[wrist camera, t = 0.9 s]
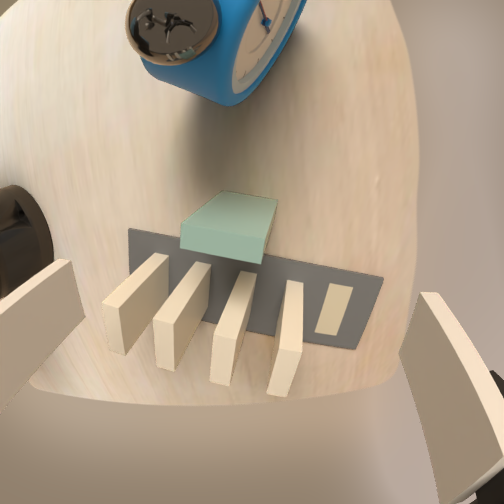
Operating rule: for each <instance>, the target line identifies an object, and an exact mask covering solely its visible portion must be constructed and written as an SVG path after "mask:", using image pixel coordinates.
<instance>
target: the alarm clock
mask: <svg viewBox="0 0 504 504" xmlns="http://www.w3.org/2000/svg"><path fill="white" fill-rule="evenodd" d="M306 1H307V0H132V2H131V4H130V6H129V8H128V10H127V14H126V19H125V31H126V35H127V38H128V41H129V43H130V45H131V46H132V48H133V49H134V50H135V51H136V52H137V53H138V54H139V55H140V57H141V60H142V62H143V64H144V67H145V68H146V70H147V71H148V72H149V73H150V74H151V75H152V76H153V77H155V78H156V79H158V80H161V81H164V82H166V83H169V84H172V85H174V86H177V87H179V88H182V89H185V90H187V91H190V92H192V93H195V94H197V95H199V96H202V97H204V98H207V99H209V100H211V101H214V102H216V103H218V104H220V105H223V106H234V105H237V104H238V103H240V102H242V101H243V100H245V99H246V98H247V97H248V96H249V95H250V94H251V93H252V92H253V91H254V90H255V89H256V87H257V86H258V85H259V84H260V83H261V81H262V80H263V79H264V77H265V76H266V74H267V73H268V72H269V70H270V69H271V67H272V66H273V64H274V62H275V61H276V59H277V58H278V56H279V54H280V53H281V51H282V49H283V48H284V46H285V44H286V42H287V41H288V39H289V37H290V35H291V33H292V31H293V29H294V28H295V25H296V23H297V21H298V19H299V17H300V15H301V13H302V11H303V8H304V6H305V4H306Z"/></svg>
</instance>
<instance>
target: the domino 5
mask: <svg viewBox="0 0 504 504" xmlns="http://www.w3.org/2000/svg"><path fill="white" fill-rule="evenodd" d="M302 342H303V283H301V282H296V281H291V280H287V282H286V286H285V291H284V295H283V299H282V304H281V308H280V312H279V316H278V321H277V327H276V334H275V340H274V347H273V354H272V360H271V367H270V373H269V379H268V385H267V391H266V394H269V395H275V396H281V397H287V394H288V391H289V389H290V386H291V383H292V380H293V378H294V375H295V372H296V369H297V366H298V363H299V360H300V357H301V354H302Z"/></svg>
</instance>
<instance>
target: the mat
mask: <svg viewBox="0 0 504 504" xmlns="http://www.w3.org/2000/svg"><path fill="white" fill-rule="evenodd" d="M128 241H129V270H130V275H131V274H132V273H133V272H134V271H135V270H136V269H137V268H139V267H140V266H141V265H142V264H143V263H144V262H145V261H146V260H147V259H148V258H149V257H151V256H152V255H153V254H154V253H159V254H164V255H169V286H168V297H169V296H170V295H171V293H172V292H173V291H174V289H175V288H176V287H177V286H178V284H179V283H180V282H181V280H182V279H183V278H184V276H185V275H186V274H187V272H188V271H189V270H190V268H191V267H192V266H193V265H194V263H195V262H196V261H197V262H202V263H206V264H211V276H210V287H209V299H208V307H207V309H206V311H205V313H204V315H203V317H202V319H201V320H202V321H206V322H210V323H215V324H218V322H219V320H220V318H221V315H222V313H223V311H224V308H225V306H226V304H227V301H228V299H229V297H230V294H231V292H232V290H233V287H234V285H235V283H236V280H237V278H238V276H239V273H240V271H245V272H250V273H255V274H257V277H256V283H255V289H254V294H253V300H252V306H251V312H250V317H249V320H248V324H247V327H246V331H251V332H256V333H261V334H266V335H271V336H275V334H276V327H277V321H278V316H279V312H280V308H281V304H282V299H283V295H284V291H285V286H286V282H287V280H291V281H296V282H301V283H303V341H304V342H310V343H316V344H322V345H328V346H335V347H342V348H349V349H356V347H357V345H358V343H359V341H360V338H361V336H362V334H363V331H364V329H365V327H366V324H367V322H368V319H369V317H370V314H371V312H372V309H373V307H374V304H375V302H376V299H377V296H378V294H379V291H380V288H381V286H382V283H383V280H384V278H383V277H378V276H373V275H368V274H363V273H358V272H352V271H347V270H342V269H337V268H332V267H327V266H322V265H316V264H311V263H306V262H301V261H296V260H291V259H286V258H281V257H275V256H270V255H265V254H264V256H263V259H262V262H261V264H257V263H252V262H246V261H241V260H236V259H231V258H226V257H221V256H216V255H211V254H206V253H201V252H197V251H192V250H187V249H182V248H180V238H178V237H173V236H168V235H163V234H157V233H152V232H147V231H142V230H137V229H132V228H129V229H128ZM167 299H168V298H167ZM159 310H160V309H159Z"/></svg>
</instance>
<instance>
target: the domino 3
mask: <svg viewBox="0 0 504 504" xmlns="http://www.w3.org/2000/svg"><path fill="white" fill-rule="evenodd" d="M277 202H278V200H274V199H269V198H263V197H258V196H252V195H246V194H240V193H234V192H228V191H221V192H220V193H219V194H217V195H216V196H215V197H214V198H212V199H211V200H210V201H208V202H207V203H206V204H205V205H203V206H202V207H201V208H200V209H198V210H197V211H196V212H195V213H193V214H192V215H191V216H190V217H188V218H187V219H186V220H185V221H183V222H182V223H181V235H180V248H182V249H187V250H192V251H197V252H201V253H206V254H211V255H216V256H221V257H226V258H231V259H236V260H241V261H246V262H252V263H257V264H261V262H262V259H263V256H264V252H265V249H266V245H267V242H268V239H269V235H270V232H271V229H272V225H273V222H274V218H275V213H276V208H277Z"/></svg>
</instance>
